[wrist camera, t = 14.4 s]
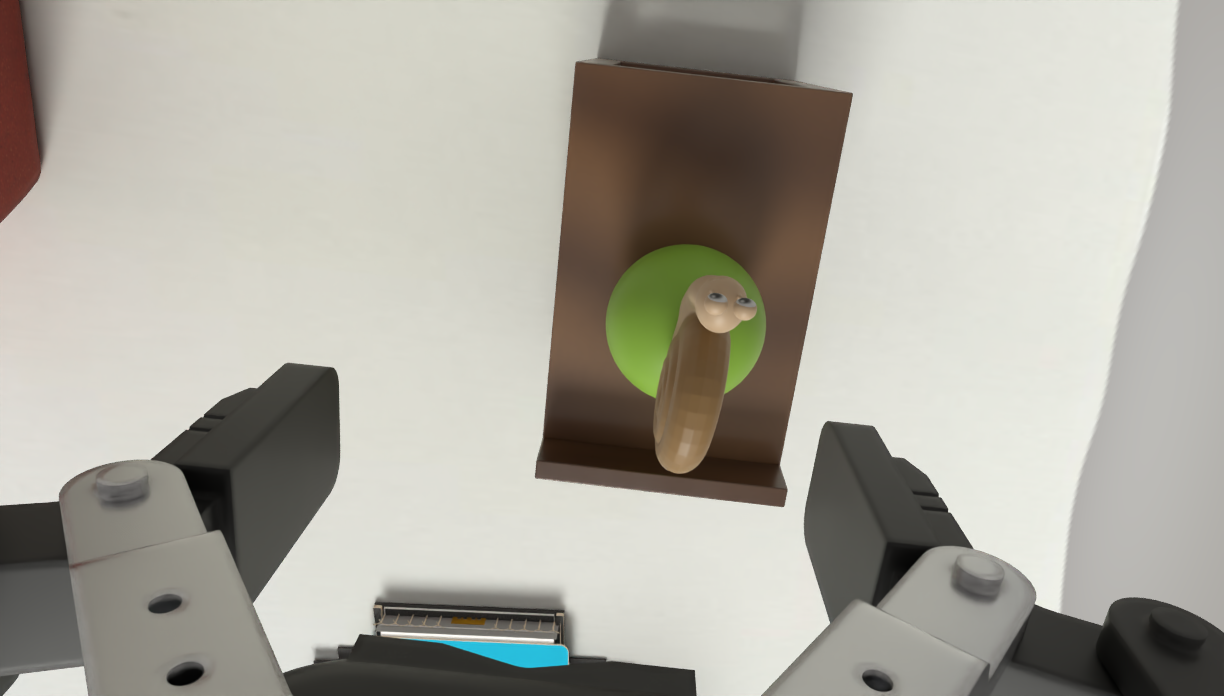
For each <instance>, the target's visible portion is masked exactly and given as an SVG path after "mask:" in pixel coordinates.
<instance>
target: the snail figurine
mask: <svg viewBox="0 0 1224 696" xmlns="http://www.w3.org/2000/svg"><path fill="white" fill-rule="evenodd" d="M765 333H766V315H765V309H764V304H763V301H762V298H761V295H760V292H759V290H758V288H757V286H756V284H755V283H754V281H753V280H752V278H751V277H750V275H749V274H748V273H747V272H746V271H745V270H744V269H743V267H742V266H740V265H739V264H738V263H737V262H736V261H734V260H733V259H732V258H730V257H729V256H727V255H725V254H723V253H721V252H719V251H717V250H715V249H712V248H709V247H705V246H700V245H692V244H680V245H672V246H667V247H664V248H660V249H658V250H655V251H653V252H651V253H649V254H647V255H645V256H643V257H642V258H640V259H639V260H638V261H636V262H635V263H634V264H633V265H632V266H631V267H630V268H629V269H628V270H627V271H626V272H625V273H624V274H623V275H622V277H621V278H620V280H619V281H618V283H617V284H616V286H615V288H614V290H613V292H612V295H611V297H610V300H609V304H608V308H607V313H606V335H607V341H608V345H609V349H610V351H611V354H612V356H613V359H614V361H615V363H616V364H617V366H618V368H619V369H620V370H621V372H622V373H623V374H624V376H625V377H626V378H627V379H628V380H629V381H630V382H631V383H632V384H633V385H634V386H636V387H637V388H638V389H640V390H641V391H643V392H644V393H646V394H648V395H650V396H652V397H654V398H656V401H655V409H654V420H653V433H654V437H655V451H656V455H657V458H658V460H659V462H660V464H661V465H662V466H663V467H664V468H665V469H666V470H668V471H671V472H673V473H677V474H680V473H687V472H689V471H691V470H693V469H694V468H696V467H697V466H698V465H699V464H700V462H701V461H702V460H703V458H704V457H705V455H706V453H707V451H708V448H709V446H710V443H711V441H712V438H713V435H714V432H715V429H716V425H717V422H718V418H719V414H720V410H721V406H722V402H723V397H724V394H725V393H727V392H729V391H730V390H732V389H733V388H734V387H736V386H737V385H738V384H739V383H740V382H741V381H742V380H743V379H744V378H745V377H746V376H747V375H748V374H749V372H750V371H751V370H752V368H753V367H754V365H755V363H756V362H757V360H758V358H759V355H760V353H761V350H762V347H763V344H764V339H765Z"/></svg>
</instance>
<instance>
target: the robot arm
mask: <svg viewBox="0 0 1224 696" xmlns="http://www.w3.org/2000/svg"><path fill="white" fill-rule="evenodd" d="M339 463H340V419H339V381H338V375H337V372H336V370H335V369H334V368H332V367H323V366H313V365H304V364H295V363H286V364H284V365H283V366H282V367H281V368H280V369H279V370H277V371H276V372H275V373H274V374H273V375H272V376H271V377H270V378H268V379H267V380H266V381H265V382H264V383H263V384H262V385H261V386H260V387H258V388H248V389H246V390H243V391H241V392H239V393H236V394H234V395H231V396H229V397H227V398H224V399H222V400H221V401H219V402H218V403H217V404H216V405H215V406H214V407H212V408H211V409H210V410H209V411H208V412H206V413H205V414H204V418H202V417H201V418H199V419H198V420H197V421H196V422H195V423H193V424H192V425H191V426H190V429H189V430H185V431H184V432H183V433H182V434H180V435H179V436H178V437H177V438H176V439H175V440H173V441H172V442H171V443H170V444H169V445H167V446H166V447H165V448H164V449H163V450H161V451H160V452H159V453H158V454H157V455H156V456H154V457H153V458H152V459H151V460H127V461H120V462H114V463H110V464H105V465H102V466H98V467H95V468H93V469H90V470H87V471H85V472H83V473H81V474H79V475H77V476H76V477H74V478H72V479H71V480H70V481H68V482H67V483H66V484H65V485H64V486H63V487H62V489H61V491H60V493H59V501H58V502H48V503H33V504H18V505H3V506H0V696H3V694H4V693H5V692H6V691H7V690H8V689H9V688H10V687H11V685H12V684H13V683H14V682H15V680H16V679H17V678H18V676H19V674H23V673H31V672H39V671H47V670H55V669H64V668H72V667H80V666H84V669H85V676H86V682H87V689H88V696H696V682H695V670H687V669H678V668H669V667H660V666H650V665H641V664H632V663H623V662H613V661H611V662H598V663H586V664H573V665H561V666H548V667H536V668H524V667H518V666H514V665H511V664H508V663H505V662H501V661H498V660H495V659H492V658H489V657H485V656H482V655H479V654H476V653H472V652H469V651H466V650H463V649H460V648H456V647H453V646H450V645H447V644H444V643H437V642H428V641H419V640H410V639H400V638H391V637H382V636H373V635H363V634H360V635H359V637H358V639H357V641H356V643H355V645H354V647H353V649H352V651H351V653H350V655H349V657H348V659H341V660H334V661H328V662H322V663H316V664H312V665H308V666H304V667H300V668H296V669H293V670H290V671H288V672H285V673H282V671H281V669H280V666H279V664H278V662H277V659H276V657H275V655H274V652H273V650H272V648H271V645H270V643H269V641H268V638H267V636H266V634H265V632H264V629H263V627H262V625H261V622H260V620H259V618H258V615H257V613H256V611H255V608H254V606H253V602H254V601H255V600H256V598H257V597H258V595H259V594H260V592H261V591H262V590H263V588H264V587H265V585H266V584H267V583H268V581H269V580H270V578H271V577H272V575H273V574H274V573H275V571H276V570H277V568H278V567H279V565H280V564H281V563H282V561H283V560H284V558H285V557H286V555H287V554H288V553H289V551H290V550H291V548H292V547H293V545H294V544H295V543H296V541H297V540H298V538H299V537H300V535H301V534H302V533H303V531H304V530H305V528H306V527H307V525H308V524H309V523H310V521H311V520H312V518H313V517H314V515H315V514H316V513H317V511H318V510H319V508H320V507H321V505H322V504H323V503H324V501H325V500H326V498H327V497H328V496H329V494H330V493H331V491H332V489H333V487H334V484H335V482H336V478H337V475H338V470H339ZM804 536H805V543H806V546H807V550H808V553H809V556H810V559H811V562H812V566H813V569H814V572H815V575H816V579H817V582H818V585H819V588H820V591H821V595H822V598H823V601H824V604H825V608H826V611H827V614H828V617H829V621H830V624H829V626H828V627H827V628H826V629H825V630H824V631H823V632H822V633H821V634H820V635H819V636H818V637H817V638H816V639H815V640H814V641H813V642H812V643H811V644H810V645H809V646H808V647H807V648H806V649H805V651H804V652H803V653H802V654H801V655H800V656H799V657H798V658H797V659H796V660H795V661H794V662H793V663H792V664H791V665H790V666H789V667H788V668H787V669H786V670H785V671H784V672H783V673H782V674H781V676H780V677H779V678H778V679H777V680H776V681H775V682H774V683H773V684H772V685H771V686H770V687H769V688H768V689H767V690H766V691H765V692H764V693H763V694H762V695H761V696H1224V633H1223V632H1222V631H1221V630H1219V629H1218V628H1217V627H1215V626H1214V625H1212V624H1211V623H1209V622H1207V621H1206V620H1204V619H1202V618H1201V617H1198V616H1196V615H1195V614H1193V613H1191V612H1188V611H1186V610H1184V609H1181V608H1179V607H1176V606H1173V605H1170V604H1168V603H1164V602H1160V601H1157V600H1152V599H1146V598H1123V599H1120V600H1117V601H1115V602H1114V603H1113V604H1112V605H1111V606H1110V608H1109V611H1108V613H1107V616H1106V619H1105V622H1104V624H1103V626H1101V625H1098V624H1094V623H1091V622H1088V621H1084V620H1081V619H1077V618H1074V617H1070V616H1067V615H1064V614H1060V613H1057V612H1054V611H1051V610H1048V609H1045V608H1042V607H1040V606H1038V605H1035V601H1036V592H1035V589H1034V587H1033V585H1032V584H1031V582H1030V581H1029V580H1028V579H1027V578H1026V577H1025V576H1024V575H1023V574H1022V573H1021V572H1020V571H1019V570H1017V569H1016V568H1014V567H1013V566H1012V565H1010V564H1008V563H1006V562H1005V561H1003V560H1001V559H999V558H997V557H995V556H992V555H990V554H987V553H984V552H981V551H978V550H975V549H973V547H972V546H971V544H970V542H969V541H968V539H967V538H966V536H965V535H964V533H963V531H962V530H961V528H960V527H959V525H958V524H957V522H956V520H955V519H954V517H953V516H952V514H951V513H948V508H947V506H946V505H945V503H944V501H943V500H942V498H940V497H939V494H938V492H937V490H936V489H935V487H934V486H933V484H932V483H931V481H930V479H929V478H928V476H927V475H925V474H924V473H923V472H921V471H920V470H919V469H917V468H916V467H915V466H914V465H912V464H911V463H910V462H908V461H907V460H906V459H904V458H895V457H892V456H891V455H890V453H889V451H888V449H887V448H886V446H885V444H884V442H883V441H882V439H881V437H880V436H879V434H878V432H877V430H876V429H875V427H873V426H869V425H859V424H850V423H840V422H831V421H827V422H826V423H825V424H824V426H823V428H822V431H821V435H820V439H819V444H818V449H817V453H816V458H815V463H814V468H813V473H812V478H811V483H810V487H809V492H808V497H807V502H806V507H805V516H804Z"/></svg>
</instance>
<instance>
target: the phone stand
mask: <svg viewBox="0 0 1224 696" xmlns="http://www.w3.org/2000/svg"><path fill="white" fill-rule="evenodd" d="M373 609H374V617H375V623H376V624H373V625H376V630H375V631H377V636H382V637H391V638H400V639H410V640H419V641H428V642H437V643H444V644H447V645H450V646H453V647H456V648H460V649H463V650H466V651H469V652H472V653H476V654H479V655H482V656H485V657H489V658H492V659H495V660H498V661H501V662H505V663H508V664H511V665H514V666H518V667H524V668H536V667H548V666H561V665H573V664H586V663H598V662H606V659H587V658H569V650H568V648H567V647H566V646H565V645H564V611H559V610H536V609H513V608H490V607H466V606H443V605H420V604H397V603H375V606H374V608H373ZM554 639H556V644H554ZM352 649H353V648H343V647H338V654H339V660H341V659H348V657H349V655H350V653H351V651H352ZM322 662H328V661H314V664H316V663H322Z"/></svg>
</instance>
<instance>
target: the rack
mask: <svg viewBox="0 0 1224 696" xmlns="http://www.w3.org/2000/svg"><path fill="white" fill-rule="evenodd" d="M852 97H853V94H852V93H849V92H845V91H840V90H835V89H831V88H826V87H821V86H817V85H812V84H807V83H803V82H798V81H793V80H784V79H776V78H767V77H758V76H749V75H741V74H732V73H723V72H714V71H706V70H697V69H688V68H679V67H671V66H662V65H653V64H644V63H636V62H627V61H618V60H609V59H601V58H596V59H590V60H584V61H578V62H576V64H575V75H574V86H573V98H572V109H571V121H570V132H569V144H568V155H567V167H566V178H565V190H564V201H563V212H562V224H561V235H560V247H559V258H558V270H557V281H556V293H555V304H554V315H553V327H552V338H551V350H550V361H549V373H548V384H547V396H546V407H545V418H544V430H543V439H542V442H541V446H540V450H539V453H538V457H537V461H536V472H535V478H536V479H545V480H554V481H562V482H571V483H580V484H588V485H597V486H605V487H614V488H623V489H631V490H640V491H648V492H657V493H666V494H674V495H683V496H691V497H700V498H709V499H717V500H726V501H734V502H743V503H752V504H760V505H769V506H778V507H784V505H785V500H786V495H787V486H786V483H785V480H784V477H783V473H782V470H781V467H780V462H781V456H782V451H783V446H784V441H785V436H786V431H787V426H788V421H789V416H790V411H791V406H792V401H793V396H794V391H795V385H796V380H797V375H798V370H799V365H800V360H801V355H802V350H803V345H804V340H805V335H806V330H807V325H808V320H809V315H810V309H811V304H812V299H813V294H814V289H815V284H816V279H817V274H818V269H819V264H820V259H821V254H822V249H823V244H824V238H825V233H826V228H827V223H828V218H829V213H830V208H831V203H832V198H833V193H834V188H835V183H836V178H837V173H838V167H839V162H840V157H841V152H842V147H843V142H844V137H845V132H846V127H847V122H848V117H849V112H850V107H851V102H852ZM680 244H692V245H700V246H705V247H709V248H712V249H715V250H717V251H719V252H721V253H723V254H725V255H727V256H729V257H730V258H732V259H733V260H734V261H736V262H737V263H738V264H739V265H740V266H742V267H743V269H744V270H745V271H746V272H747V273H748V274H749V275H750V277H751V278H752V280H753V281H754V283H755V284H756V286H757V288H758V290H759V292H760V295H761V298H762V301H763V304H764V309H765V315H766V333H765V339H764V344H763V347H762V350H761V353H760V355H759V358H758V360H757V362H756V363H755V365H754V367H753V368H752V370H751V371H750V372H749V374H748V375H747V376H746V377H745V378H744V379H743V380H742V381H741V382H740V383H739V384H738V385H737V386H736V387H734V388H733V389H732V390H730V391H729V392H727V393H725V394H724V397H723V402H722V406H721V410H720V414H719V418H718V422H717V425H716V429H715V432H714V435H713V438H712V441H711V443H710V446H709V448H708V451H707V453H706V455H705V457H704V458H703V460H702V461H701V462H700V464H699V465H698V466H697V467H696V468H694V469H693V470H691V471H689V472H687V473H680V474H677V473H673V472H671V471H668V470H666V469H665V468H664V467H663V466H662V465H661V464H660V462H659V460H658V458H657V455H656V451H655V437H654V433H653V420H654V409H655V401H656V398H654V397H652V396H650V395H648V394H646V393H644V392H643V391H641V390H640V389H638V388H637V387H636V386H634V385H633V384H632V383H631V382H630V381H629V380H628V379H627V378H626V377H625V376H624V374H623V373H622V372H621V370H620V369H619V368H618V366H617V364H616V363H615V361H614V359H613V356H612V354H611V351H610V349H609V345H608V341H607V335H606V313H607V308H608V304H609V300H610V297H611V295H612V292H613V290H614V288H615V286H616V284H617V283H618V281H619V280H620V278H621V277H622V275H623V274H624V273H625V272H626V271H627V270H628V269H629V268H630V267H631V266H632V265H633V264H634V263H635V262H636V261H638V260H639V259H640V258H642V257H643V256H645V255H647V254H649V253H651V252H653V251H655V250H658V249H660V248H664V247H667V246H672V245H680Z"/></svg>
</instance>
